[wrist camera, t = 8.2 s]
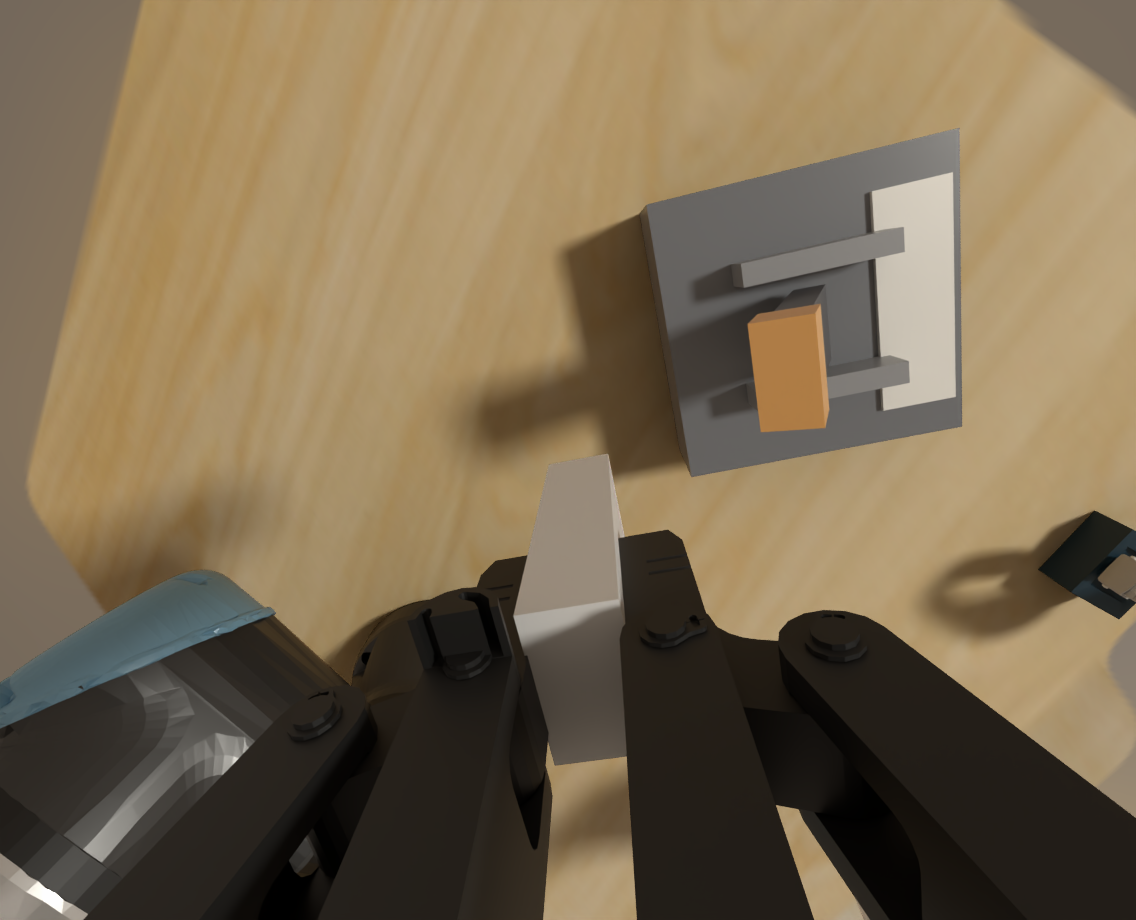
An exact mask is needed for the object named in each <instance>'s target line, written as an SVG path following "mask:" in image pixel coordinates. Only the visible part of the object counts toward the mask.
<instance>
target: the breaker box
mask: <svg viewBox="0 0 1136 920" xmlns="http://www.w3.org/2000/svg"><path fill="white" fill-rule="evenodd" d="M640 219H641V225H642V231H643V237H644V243H645V249H646V255H647V261H648V266H649V272H650V278H651V284H652V290H653V296H654V302H655V308H656V313H657V319H658V325H659V331H660V337H661V343H662V349H663V355H664V360H665V366H666V372H667V378H668V384H669V390H670V396H671V402H672V408H673V413H674V419H675V425H676V431H677V437H678V443H679V449H680V452H681V454H682V456H683V458H684V461H685V463H686V465H687V468H688V470H689V472H690V475H691V477H694V476H700V475H705V474H710V473H716V472H721V471H726V470H732V469H737V468H743V467H748V466H753V465H759V464H764V463H769V462H775V461H780V460H785V459H791V458H796V457H801V456H807V455H812V454H818V453H823V452H828V451H834V450H839V449H844V448H850V447H855V446H860V445H866V444H871V443H876V442H882V441H887V440H892V439H898V438H903V437H909V436H914V435H919V434H925V433H930V432H935V431H941V430H946V429H951V428H957V427H962V363H961V252H960V142H959V128H957V129H953V130H949V131H945V132H941V133H937V134H932V135H928V136H924V137H920V138H916V139H912V140H908V141H904V142H900V143H896V144H892V145H888V146H884V147H880V148H875V149H871V150H867V151H863V152H859V153H855V154H851V155H847V156H843V157H839V158H835V159H831V160H827V161H823V162H818V163H814V164H810V165H806V166H802V167H798V168H794V169H790V170H786V171H782V172H778V173H774V174H770V175H766V176H762V177H757V178H753V179H749V180H745V181H741V182H737V183H733V184H729V185H725V186H721V187H717V188H713V189H709V190H705V191H700V192H696V193H692V194H688V195H684V196H680V197H676V198H672V199H668V200H664V201H660V202H656V203H652V204H648V205H646V206H645V207H644V208H643V210H642V211H641V212H640ZM824 284H825V285H826V298H827V310H828V323H829V336H830V348H831V362H830V365H829V369H828V373H827V388H828V400H829V413H828V418H827V422H826V427H825V428H819V429H804V430H789V431H774V432H761V430H760V422H759V414H758V405H757V397H756V389H755V381H754V373H753V365H752V356H751V348H750V340H749V332H748V323H749V322H750V321H751V320H752V319H753V318H754V317H755V316H756V315H757V314H760V313H767V312H773V311H774V310H775V309H776V308H777V307H778V306H779V305H780V304H781V303H782V302H783V301H784V299H785V298H786V297H787V296H788V295H789V294H790V293H791V292H792V291H793V290H796V289H801V288H807V287H813V286H818V285H824Z"/></svg>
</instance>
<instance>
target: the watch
mask: <svg viewBox="0 0 1136 920" xmlns="http://www.w3.org/2000/svg"><path fill="white" fill-rule="evenodd" d="M1038 570H1040V571H1041V572H1043V573H1044V574H1046V575H1047V576H1048V577H1050V578H1051V579H1053V580H1054V581H1056V582H1057V583H1058V584H1060V585H1061V586H1063V587H1064V588H1066V589H1067V590H1069V591H1070V592H1072V593H1073V594H1075V595H1077V596H1079V597H1080V598H1082V599H1084V600H1086V601H1087V602H1089V603H1091V604H1093V605H1095V606H1096V607H1098V608H1100V609H1102V610H1103V611H1105V612H1107V613H1109V614H1110V615H1112V616H1114V617H1116V618H1118V619H1120V618H1121V617H1122V616H1123V615H1124V614H1125V613H1126V612H1127V611H1128V610H1129V609H1130V608H1131V607H1132V606H1134V605H1135V604H1136V531H1135V530H1133V529H1131V528H1129V527H1127V526H1125V525H1123V524H1121V523H1119V522H1117V521H1115V520H1113V519H1111V518H1109V517H1107V516H1105V515H1103V514H1101V513H1099V512H1096V511H1094V512H1093V513H1092V514H1091V515H1090V516H1089V517H1088V518H1087V519H1086V520H1085V521H1084V522H1083V523H1082V524H1081V525H1080V526H1079V527H1078V529H1077V530H1076V531H1075V532H1074V533H1073V534H1072V535H1071V536H1070V537H1069V538H1068V539H1067V540H1066V541H1065V542H1064V543H1063V544H1062V545H1061V546H1060V547H1059V548H1058V550H1057V551H1056V552H1055V553H1054V554H1053V555H1052V556H1051V557H1050V558H1049V559H1048V560H1047V561H1046V562H1045V563H1044V564H1043V565H1042V566H1041V567H1040V568H1039V569H1038Z"/></svg>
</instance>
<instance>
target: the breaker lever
mask: <svg viewBox="0 0 1136 920" xmlns="http://www.w3.org/2000/svg"><path fill="white" fill-rule="evenodd" d="M748 332H749V340H750V348H751V356H752V365H753V373H754V381H755V389H756V397H757V405H758V414H759V422H760V430H761V432H774V431H789V430H804V429H819V428H825V427H826V422H827V418H828V413H829V400H828V388H827V373H828V369H829V365H830V362H831V348H830V336H829V323H828V310H827V298H826V285H825V284H824V285H818V286H813V287H807V288H801V289H796V290H793V291H792V292H791V293H790V294H789V295H788V296H787V297H786V298H785V299H784V301H783V302H782V303H781V304H780V305H779V306H778V307H777V308H776V309H775V310H774V311H773V312H767V313H760V314H757V315H756V316H755V317H754V318H753V319H752V320H751V321H750V322H749V323H748Z"/></svg>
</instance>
